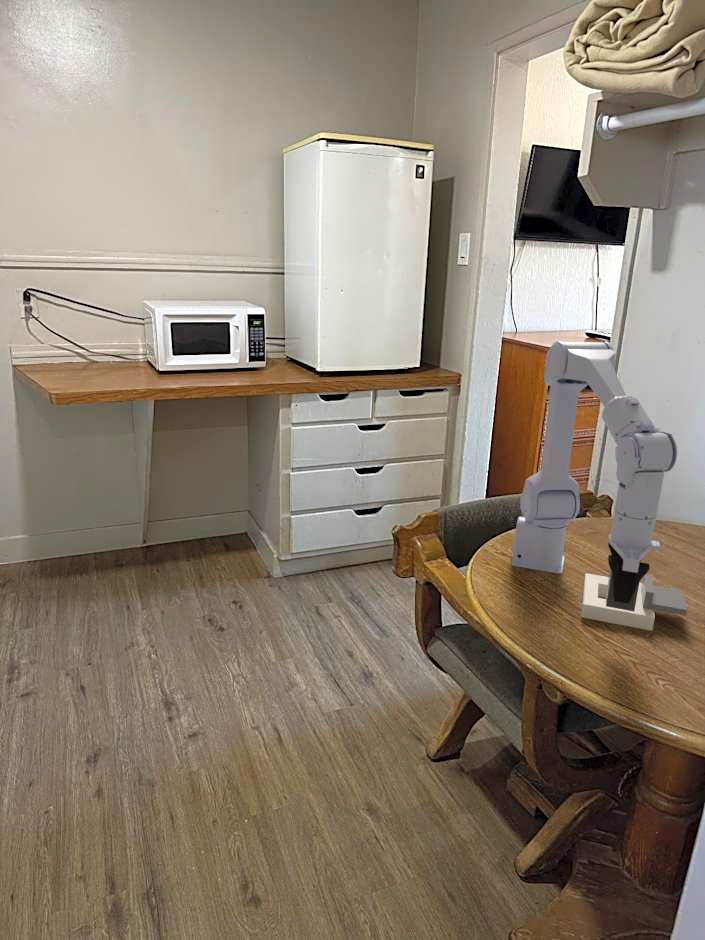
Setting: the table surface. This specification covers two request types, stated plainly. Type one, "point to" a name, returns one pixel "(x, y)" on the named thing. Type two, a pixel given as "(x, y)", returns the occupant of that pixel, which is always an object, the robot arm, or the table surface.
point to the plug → (619, 605)
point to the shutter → (662, 597)
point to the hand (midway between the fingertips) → (621, 594)
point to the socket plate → (599, 610)
